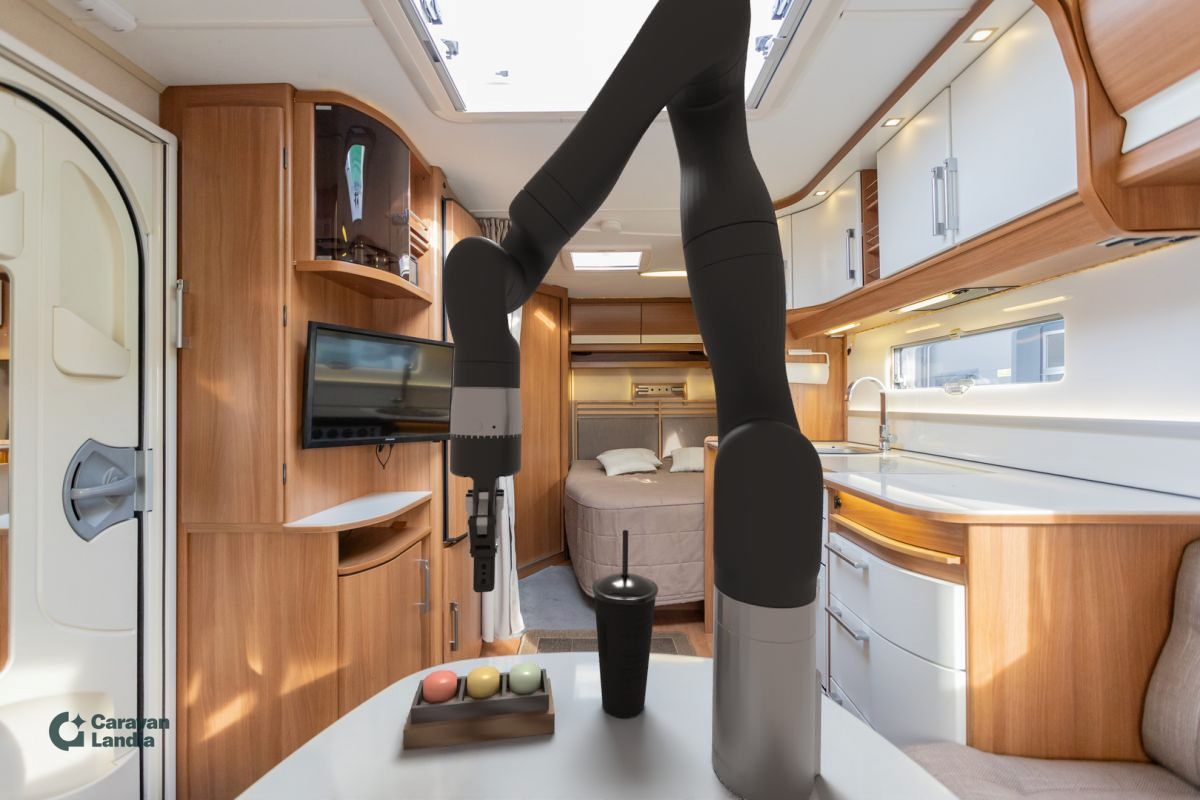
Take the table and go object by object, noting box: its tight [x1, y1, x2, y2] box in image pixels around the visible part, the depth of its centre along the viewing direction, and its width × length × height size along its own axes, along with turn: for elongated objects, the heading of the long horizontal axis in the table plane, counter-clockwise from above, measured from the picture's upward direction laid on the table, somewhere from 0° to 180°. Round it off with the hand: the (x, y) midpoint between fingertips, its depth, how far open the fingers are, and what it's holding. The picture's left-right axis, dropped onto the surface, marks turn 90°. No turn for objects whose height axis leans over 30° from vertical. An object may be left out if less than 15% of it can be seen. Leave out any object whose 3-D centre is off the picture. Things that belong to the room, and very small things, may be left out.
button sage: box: [509, 662, 542, 695], centre depth 52 cm, size 3×3×2 cm
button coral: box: [423, 669, 458, 704], centre depth 51 cm, size 3×3×2 cm
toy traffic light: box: [402, 668, 556, 751], centre depth 52 cm, size 15×6×4 cm, turn 101°
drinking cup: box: [591, 529, 659, 720], centre depth 54 cm, size 8×8×20 cm
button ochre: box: [466, 665, 500, 699], centre depth 52 cm, size 3×3×2 cm
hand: (484, 589), depth 52 cm, fingers closed
